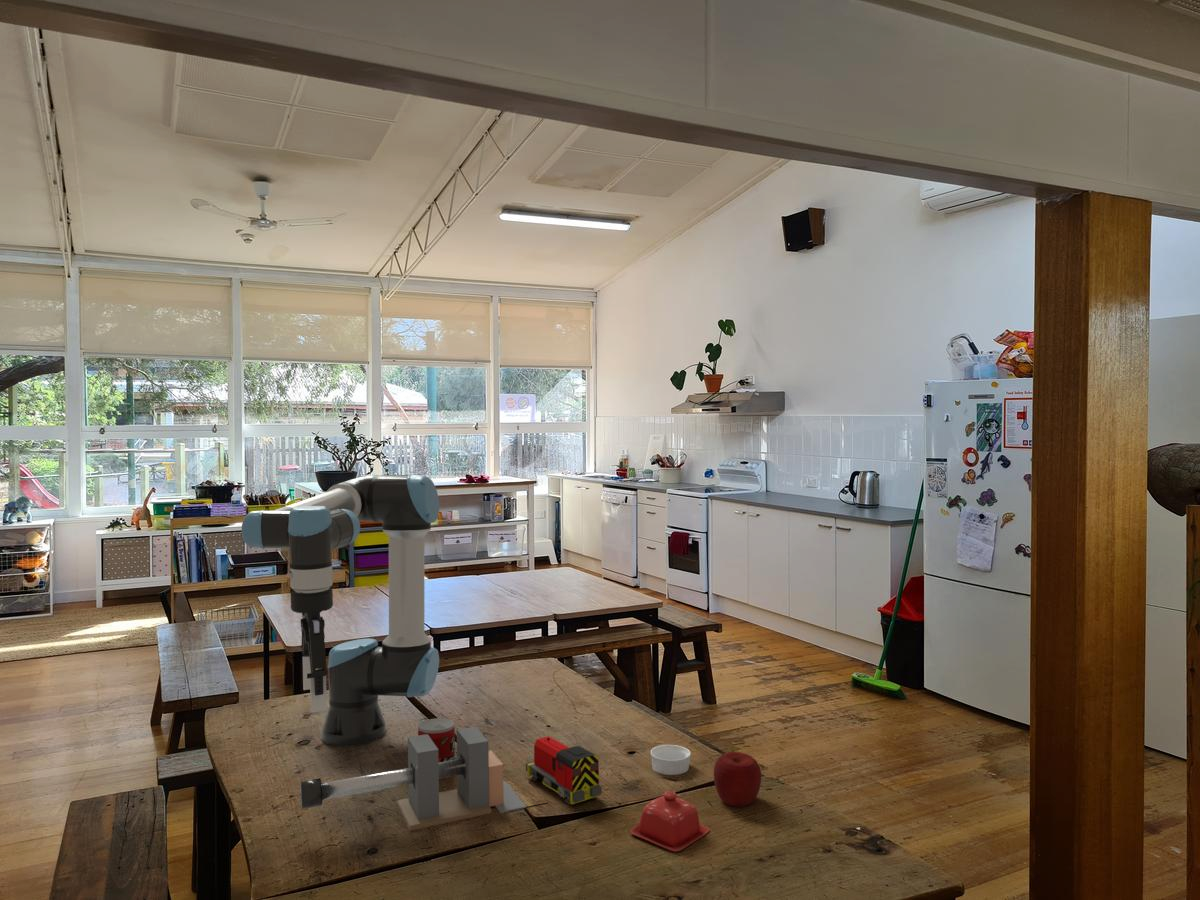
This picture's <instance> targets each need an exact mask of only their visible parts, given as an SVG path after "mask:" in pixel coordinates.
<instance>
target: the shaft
mask: <svg viewBox="0 0 1200 900" xmlns="http://www.w3.org/2000/svg"><path fill="white" fill-rule="evenodd" d="M462 774H466V764H465V759H464V758H462V759H457V758H455V760H451V761H445V762H439V780H441V778H443V779H446V777H447V778H450V777H457V775H462ZM413 783H415V768H414V767H411V768H408V767H405V768H400V769H394V770H389V771H383V772H379V773H378V772H377V773H372V774H371V773H370V774H365V775H361V776H359V775H358V776H355V777H349V778H343V779H338V780H337V779H336V780H332V781H327V782H325V781H324V782H322V779H321V778H315V779H314V778H313V779H308V780H303V781H300V783H299V796H300V807H301V810H304V809H311V808H315V807H321V806H323V801H325V800H332V799H336V798H337V799H338V798H340V797H345V796H346V797H347V796H352V795H357V794H358V795H359V794H364V793H370V792H374V791H380V790H386V789H391V788H397V787H402V786H407V785H408V784H413Z"/></svg>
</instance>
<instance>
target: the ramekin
mask: <svg viewBox="0 0 1200 900" xmlns="http://www.w3.org/2000/svg"><path fill="white" fill-rule="evenodd" d="M691 756H692V752H691V751H690V750H689V749H688V748H686V747H684V746H681V745H676V744H660V745H657V746H655V747H653V748H651V750H650V757H651V767H652V770H653V771H654V772H655V773H658V774H661V775H667V776H676V775H681V774H684V773H687V772H688V771H689V767H690V760H691Z"/></svg>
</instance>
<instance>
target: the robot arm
mask: <svg viewBox="0 0 1200 900" xmlns="http://www.w3.org/2000/svg"><path fill="white" fill-rule="evenodd" d="M439 500H440V499H439V495H438V490H437V488H436V485H435V483H434V481H433V480H432V479H431V478H430V477H428V476H426V475H420V474H419V475H418V474H399V475H398V474H381V475H379V474H368V475H363V476H359V477H354V478H352V479H349V480H346V481H342V482H339V483H335V484H333V485H332V486H330V487H329V488H328V489H327V490H326V491H325V492H324V493H323V492H322V493H321V494H317V495H314V496H312V497H308V498H306V499H303V500H300V501H298V502H294V503H292V504H289V505H286V506H284V507H279V508H276V509H272V510H264V509H261V510H252V511H250V512H247V514H246V515H245V516H244V518H243V520H242V524H241V538H242V540H243V542H244V544H245V545H246V546H248V547H250V548H256V549H257V548H258V549H259V548H260V549H264V550H265V549H289V550H288V551H289V568H290V569H289V570H290V572H288V573H286V578H287V579H290V580H289V581H290V588H291V589H292V591H291V592H290V609H291V611H292V612H293V613H296V614H297V613H298V614H301V618H300V628H301V629H300V630H301V631H300V632H301V645H300V648H301V654H302V657H301V658H302V686H303V688H302V689H303V691H306V690H307V691H308V690H309V692H310V693H309V694H310V699H309V700H310V713H311V714H312V713H319V712H325V711H327V713H326V717H325V720H324V721H323V722H324V723H323V727H322V729H321V730H322V732H321V738H322V742H324V743H325V744H328V745H330V746H335V747H354V746H359V745H360V746H361V745H365V744H368V743H369V744H370V743H373V742H375V741H377V740H379V739H381V738H382V737H383V736H385V734H386V732H387V730H386V728H387V726H386V721H385V718H384V716H383V712H382V710H381V706H380V704H379V696H382V697H383V696H389V697H407V698H412V697H424V696H426V695H428V694H429V693H430V692H431V690H432V689H433V687H434V685H435V682H436V680H437V676H438V672H439V667H440V666H439V665H440V654H439V650H438V649H437V648H435V647H432V643H431V640H432V639H431V638H430V637H429V636H428V635H427V634H426V633H425V537H426V535H427V534H428V533H429V532H431V529H432V528H431V527H432V525H431V524H433V523H435V522H436V521H437V520H438V518H439V512H440V501H439ZM360 522H367V523H368V522H369V523H382V524H381V525H382V526H381V527H382V532H383V533H384V534H385V535H386V536H388V537H387V538H388V635H387V636H386V637H385V638H384V639H383V640H382V642H381V645H382V646H378V645H379V643H378V640H377V639H375V638H361V639H355V640H354V639H353V640H350V641H346V642H343V643H339V644H338V645H335V646H334V647H332V648H331V649H330V651H329V653H328V662H327V656H326V645H325V644H326V643H325V642H326V641H325V639H326V638H325V637H326V635H325V627H326V626H325V625H326V624H325V619H324V618H323V616H321V613H322V612H324V611H325V612H326V611H328V610H331V608H332V607H333V605H334V596H333V594H334V593H333V591H334V590H333V589H332V588H331V587H332V586H333V583H334V581H333V580H334V579H333V562H332V556H333V555H332V551H334V550H337V549H341V548H345V547H347V546H348V545H349V544H352V543H353V542H355V541H356V539H358V536H359V535H360V533H361V524H360ZM327 663H328V664H327ZM327 676H328V703H329V704H328V703H327ZM327 704H328V705H329V706H328V705H327ZM327 706H328V707H327Z"/></svg>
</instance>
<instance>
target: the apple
mask: <svg viewBox="0 0 1200 900" xmlns="http://www.w3.org/2000/svg"><path fill="white" fill-rule="evenodd" d="M713 782H714V786H715V790H716V792H717V794H718V796H719V799H721V801H722V803H723V804H725V805H727V806H731V807H739V808H741V807H745V806H749V805H751V804H752V803H753V802H754V801H755V800H756V798H757V797H758V795H759V791H760V788H761V785H762V770H761V766H760V764H759V763H758V761H757V760H756V759H755V758H754V757H752V756H751V755H749V754H747V753H744V752H739V751H728V752H727V751H726V752H724V753H722V754H721V755H720V756H719V757H717V759H716V761H715V764H714V768H713Z"/></svg>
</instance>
